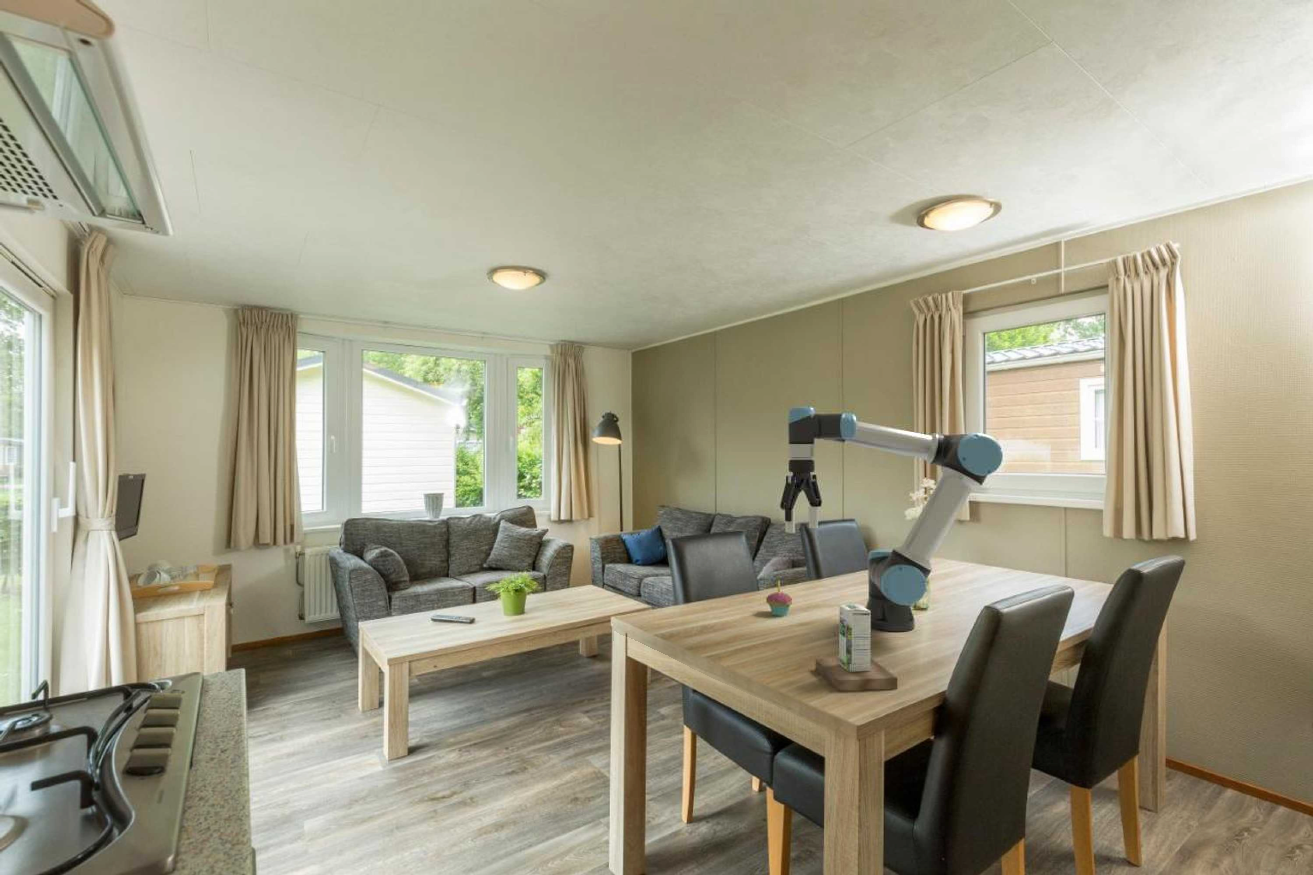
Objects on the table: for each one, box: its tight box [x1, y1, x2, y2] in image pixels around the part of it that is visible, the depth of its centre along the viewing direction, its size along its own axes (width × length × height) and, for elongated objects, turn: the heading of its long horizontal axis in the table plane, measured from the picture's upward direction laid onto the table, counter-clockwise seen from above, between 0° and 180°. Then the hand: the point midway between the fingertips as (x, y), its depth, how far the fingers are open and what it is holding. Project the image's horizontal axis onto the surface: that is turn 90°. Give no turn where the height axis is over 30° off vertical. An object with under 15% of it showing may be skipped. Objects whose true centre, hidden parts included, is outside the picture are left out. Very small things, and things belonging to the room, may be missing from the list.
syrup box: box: [838, 603, 872, 672], centre depth 145 cm, size 6×6×14 cm
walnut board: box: [815, 657, 898, 692], centre depth 145 cm, size 14×14×2 cm
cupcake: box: [765, 580, 793, 617], centre depth 201 cm, size 9×8×12 cm
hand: (801, 530), depth 180 cm, fingers open, 13 cm apart
